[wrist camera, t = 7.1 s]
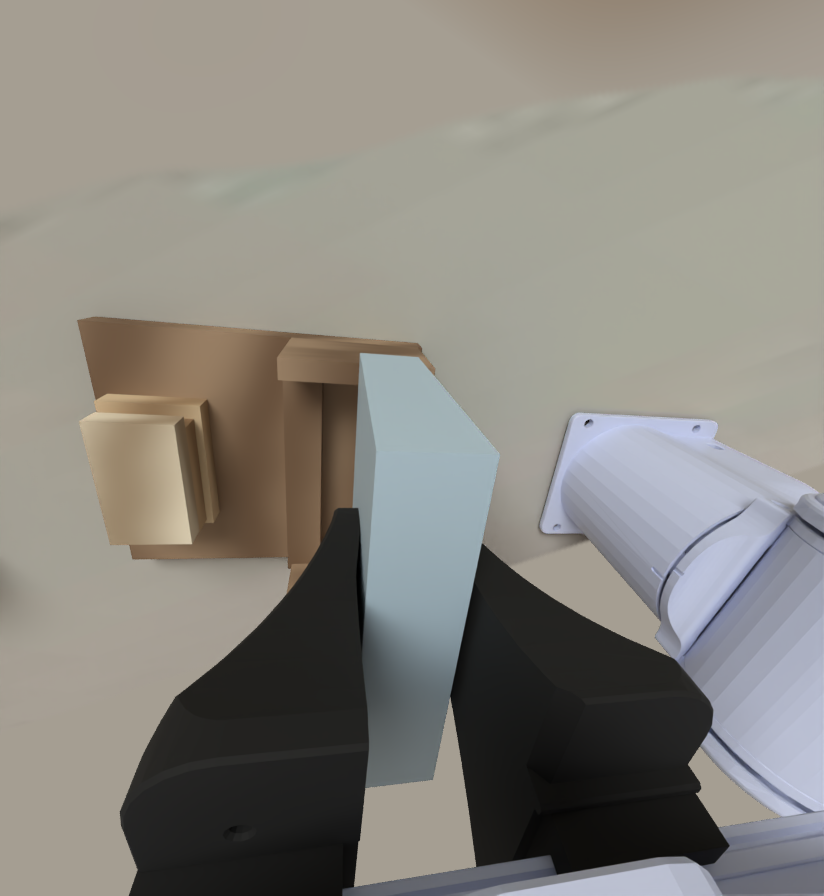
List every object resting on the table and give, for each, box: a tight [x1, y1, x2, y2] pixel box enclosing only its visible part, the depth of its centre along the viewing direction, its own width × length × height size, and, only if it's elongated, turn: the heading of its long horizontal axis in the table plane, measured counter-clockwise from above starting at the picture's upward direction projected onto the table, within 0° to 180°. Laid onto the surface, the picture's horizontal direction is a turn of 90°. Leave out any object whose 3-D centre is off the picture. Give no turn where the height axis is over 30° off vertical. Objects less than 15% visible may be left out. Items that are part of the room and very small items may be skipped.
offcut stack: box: [79, 394, 220, 545], centre depth 17 cm, size 4×6×3 cm, turn 174°
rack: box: [77, 317, 435, 593], centre depth 18 cm, size 14×12×5 cm
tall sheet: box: [353, 353, 500, 788], centre depth 12 cm, size 2×9×8 cm, turn 175°
